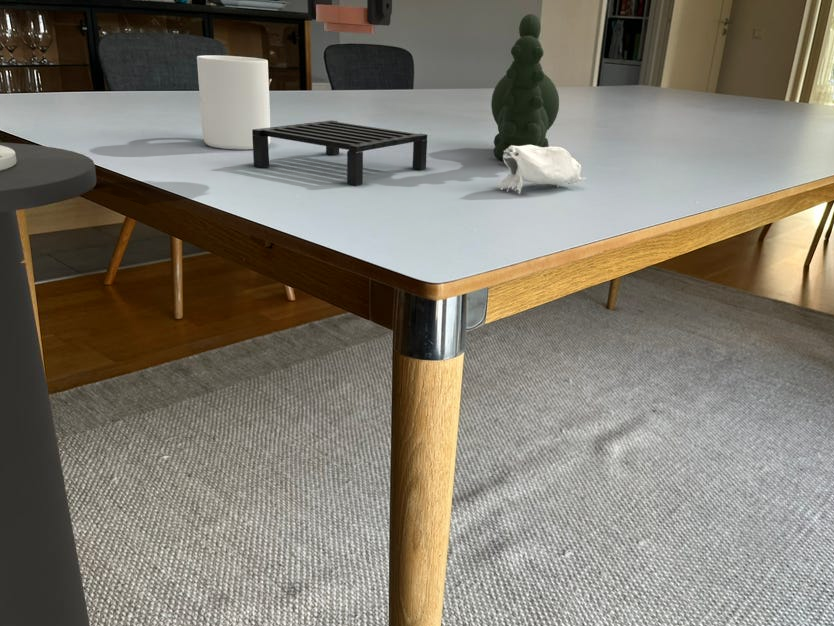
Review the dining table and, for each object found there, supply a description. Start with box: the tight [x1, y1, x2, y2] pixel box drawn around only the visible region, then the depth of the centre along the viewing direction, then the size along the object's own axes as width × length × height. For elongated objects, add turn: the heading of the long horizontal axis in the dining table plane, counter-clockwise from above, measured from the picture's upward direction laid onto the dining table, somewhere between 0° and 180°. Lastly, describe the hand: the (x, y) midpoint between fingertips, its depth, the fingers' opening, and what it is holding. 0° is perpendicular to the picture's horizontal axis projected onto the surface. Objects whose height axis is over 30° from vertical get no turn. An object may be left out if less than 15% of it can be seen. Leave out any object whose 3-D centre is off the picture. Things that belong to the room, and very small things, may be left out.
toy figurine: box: [490, 13, 560, 161], centre depth 101 cm, size 9×19×25 cm
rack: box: [252, 119, 428, 186], centre depth 88 cm, size 14×14×4 cm
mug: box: [196, 54, 272, 151], centre depth 97 cm, size 12×8×10 cm
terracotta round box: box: [315, 4, 383, 35], centre depth 79 cm, size 7×7×2 cm
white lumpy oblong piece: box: [499, 145, 587, 195], centre depth 84 cm, size 5×7×10 cm
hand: (349, 20), depth 79 cm, fingers closed on terracotta round box, 6 cm apart
